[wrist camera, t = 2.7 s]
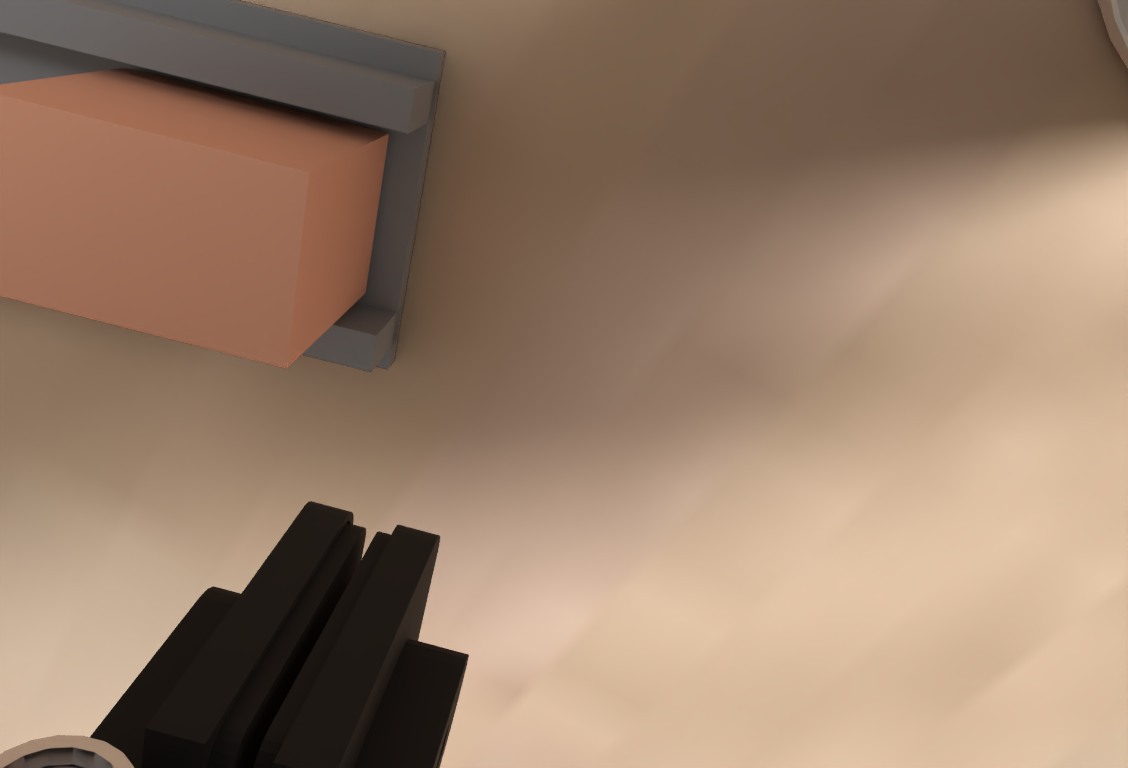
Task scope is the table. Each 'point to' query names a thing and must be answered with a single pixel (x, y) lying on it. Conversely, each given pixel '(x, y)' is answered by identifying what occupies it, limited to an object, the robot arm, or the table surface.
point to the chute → (272, 75)
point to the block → (185, 210)
